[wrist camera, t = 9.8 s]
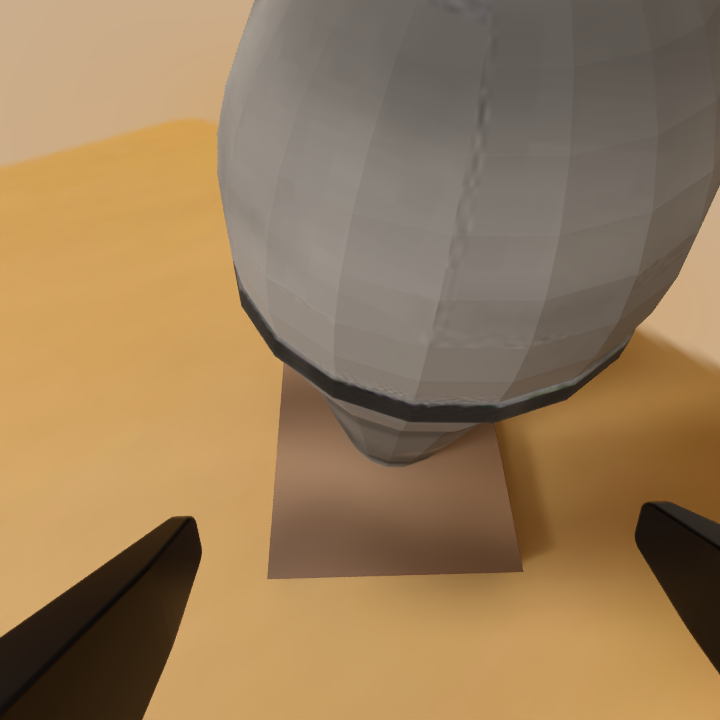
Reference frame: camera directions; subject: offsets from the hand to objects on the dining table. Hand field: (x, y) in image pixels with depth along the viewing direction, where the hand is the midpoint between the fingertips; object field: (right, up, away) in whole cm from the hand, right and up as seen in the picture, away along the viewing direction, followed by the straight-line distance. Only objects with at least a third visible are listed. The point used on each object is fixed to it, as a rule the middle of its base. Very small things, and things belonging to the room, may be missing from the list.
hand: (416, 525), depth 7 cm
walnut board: (0, 0, +11) cm, 11 cm away
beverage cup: (0, +1, +10) cm, 10 cm away
